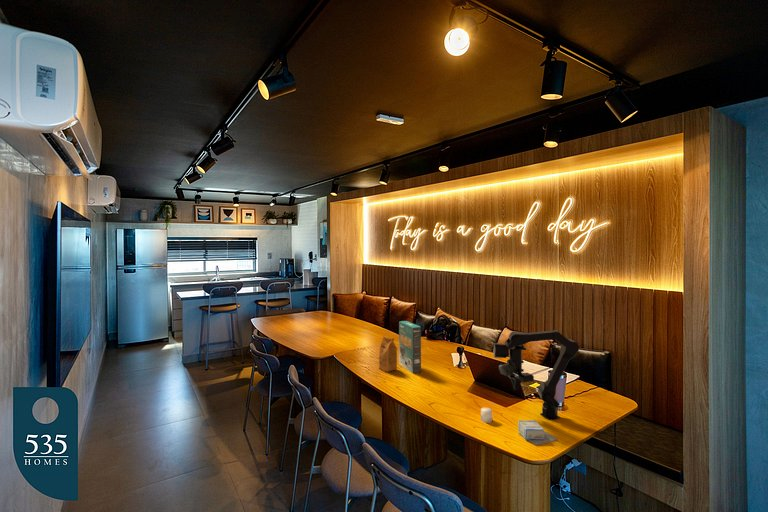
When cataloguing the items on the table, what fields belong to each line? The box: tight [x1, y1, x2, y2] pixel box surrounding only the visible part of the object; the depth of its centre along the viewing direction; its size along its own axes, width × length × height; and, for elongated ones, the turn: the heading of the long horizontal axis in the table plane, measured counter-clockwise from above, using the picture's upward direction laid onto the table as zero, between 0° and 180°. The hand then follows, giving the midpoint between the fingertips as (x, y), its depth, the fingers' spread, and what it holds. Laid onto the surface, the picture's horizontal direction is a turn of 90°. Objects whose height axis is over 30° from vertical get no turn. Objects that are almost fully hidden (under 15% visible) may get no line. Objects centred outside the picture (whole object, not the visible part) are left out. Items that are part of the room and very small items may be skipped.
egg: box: [480, 407, 493, 424], centre depth 173 cm, size 5×5×5 cm
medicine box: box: [517, 420, 545, 441], centre depth 158 cm, size 8×4×9 cm
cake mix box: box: [398, 320, 422, 374], centre depth 250 cm, size 22×6×30 cm, turn 22°
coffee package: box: [378, 335, 398, 373], centre depth 247 cm, size 10×12×22 cm
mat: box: [518, 430, 559, 446], centre depth 157 cm, size 12×10×1 cm
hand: (515, 389), depth 179 cm, fingers closed
